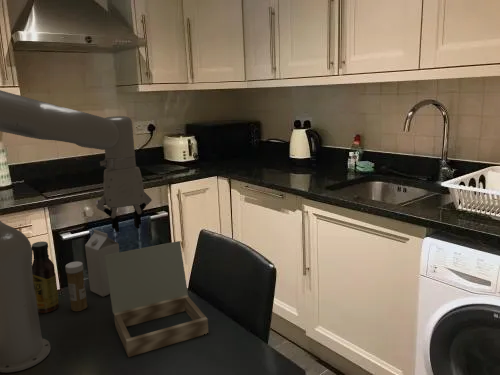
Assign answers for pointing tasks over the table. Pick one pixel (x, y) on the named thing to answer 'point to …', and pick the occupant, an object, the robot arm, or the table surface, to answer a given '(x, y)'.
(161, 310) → the brown wooden tray
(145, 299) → the panel
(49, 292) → the sauce bottle
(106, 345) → the table surface
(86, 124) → the robot arm
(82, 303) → the sprinkles bottle
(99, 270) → the milk carton
